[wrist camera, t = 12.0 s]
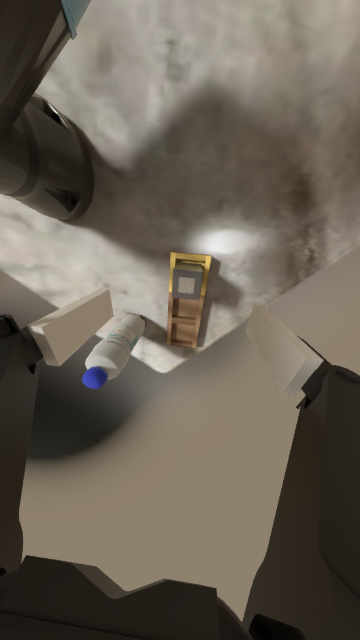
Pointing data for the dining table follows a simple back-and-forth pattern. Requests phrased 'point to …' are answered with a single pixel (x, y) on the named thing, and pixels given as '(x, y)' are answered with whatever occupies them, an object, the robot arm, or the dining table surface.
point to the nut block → (187, 281)
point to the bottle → (113, 352)
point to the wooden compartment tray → (186, 304)
